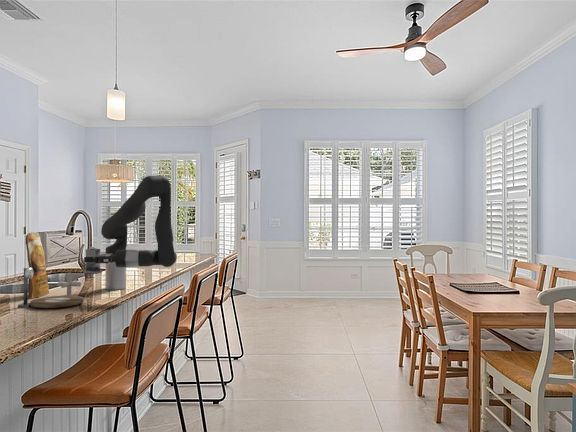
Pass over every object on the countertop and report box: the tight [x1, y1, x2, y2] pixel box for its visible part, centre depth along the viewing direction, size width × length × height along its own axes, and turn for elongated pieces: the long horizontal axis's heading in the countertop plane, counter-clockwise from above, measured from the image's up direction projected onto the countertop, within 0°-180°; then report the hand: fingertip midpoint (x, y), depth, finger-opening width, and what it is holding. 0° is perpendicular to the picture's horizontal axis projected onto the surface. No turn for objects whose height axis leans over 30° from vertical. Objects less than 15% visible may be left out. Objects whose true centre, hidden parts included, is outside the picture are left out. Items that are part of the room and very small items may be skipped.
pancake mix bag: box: [25, 232, 50, 299], centre depth 199 cm, size 7×19×28 cm, turn 8°
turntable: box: [29, 295, 85, 309], centre depth 179 cm, size 19×19×2 cm
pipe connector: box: [57, 272, 82, 296], centre depth 199 cm, size 10×10×10 cm
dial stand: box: [17, 267, 33, 309], centre depth 175 cm, size 4×4×15 cm
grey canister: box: [83, 246, 103, 275], centre depth 190 cm, size 7×7×11 cm
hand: (86, 258), depth 189 cm, fingers closed on grey canister, 5 cm apart
